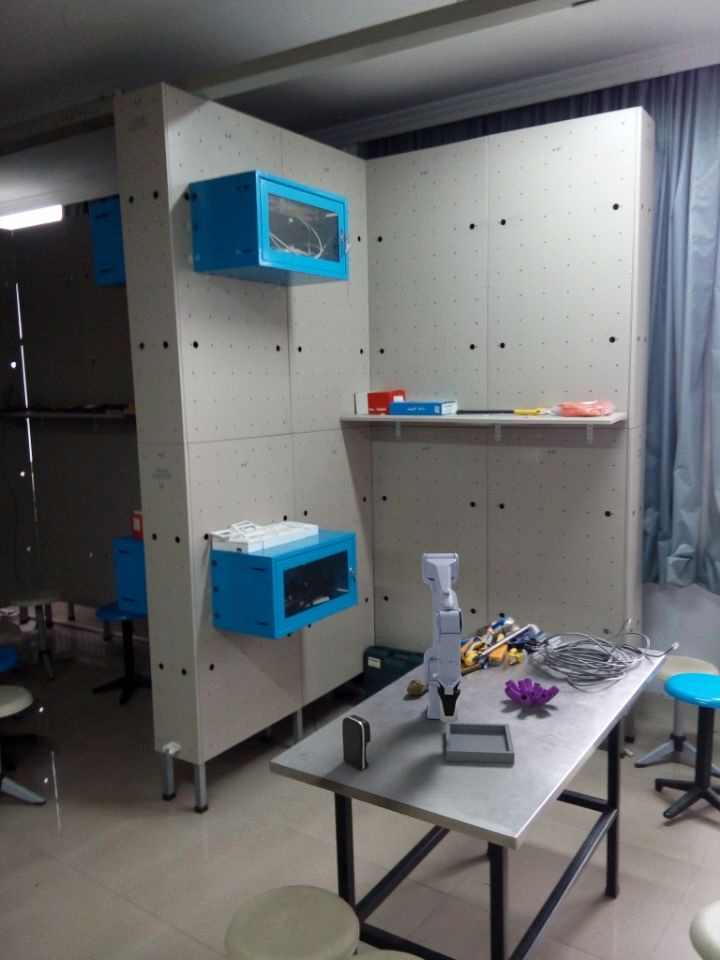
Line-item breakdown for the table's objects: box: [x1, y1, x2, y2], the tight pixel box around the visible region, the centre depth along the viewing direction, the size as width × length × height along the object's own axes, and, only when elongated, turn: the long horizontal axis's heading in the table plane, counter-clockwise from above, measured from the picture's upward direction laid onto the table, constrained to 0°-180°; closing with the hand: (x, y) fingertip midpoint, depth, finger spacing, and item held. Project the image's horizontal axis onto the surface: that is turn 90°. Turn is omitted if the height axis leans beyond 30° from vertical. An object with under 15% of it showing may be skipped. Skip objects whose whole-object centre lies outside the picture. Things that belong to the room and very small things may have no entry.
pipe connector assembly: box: [503, 677, 560, 708], centre depth 213 cm, size 11×15×10 cm
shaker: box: [439, 698, 459, 724], centre depth 188 cm, size 4×4×6 cm
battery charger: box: [341, 714, 372, 771], centre depth 180 cm, size 7×4×11 cm, turn 41°
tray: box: [445, 721, 515, 764], centre depth 188 cm, size 16×16×2 cm
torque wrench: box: [406, 663, 482, 697], centre depth 231 cm, size 5×35×5 cm
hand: (449, 711), depth 188 cm, fingers closed on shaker, 4 cm apart
